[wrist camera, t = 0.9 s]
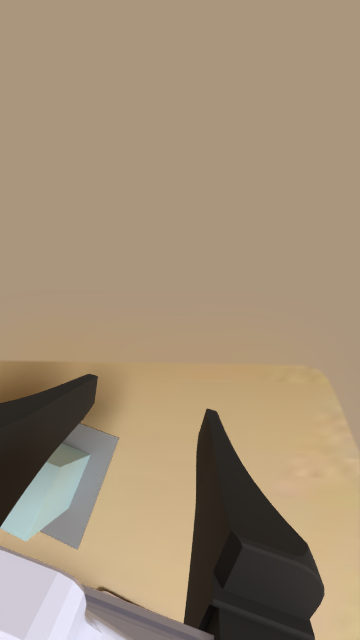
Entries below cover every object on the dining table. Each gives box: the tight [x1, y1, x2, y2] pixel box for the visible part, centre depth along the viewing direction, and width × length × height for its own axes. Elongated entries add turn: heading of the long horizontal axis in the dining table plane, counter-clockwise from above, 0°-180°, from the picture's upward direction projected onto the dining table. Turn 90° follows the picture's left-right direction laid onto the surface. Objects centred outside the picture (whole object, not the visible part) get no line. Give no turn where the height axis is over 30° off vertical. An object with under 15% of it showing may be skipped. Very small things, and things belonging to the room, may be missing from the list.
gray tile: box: [40, 423, 119, 550], centre depth 22 cm, size 10×10×1 cm
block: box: [0, 443, 90, 541], centre depth 20 cm, size 5×5×6 cm
